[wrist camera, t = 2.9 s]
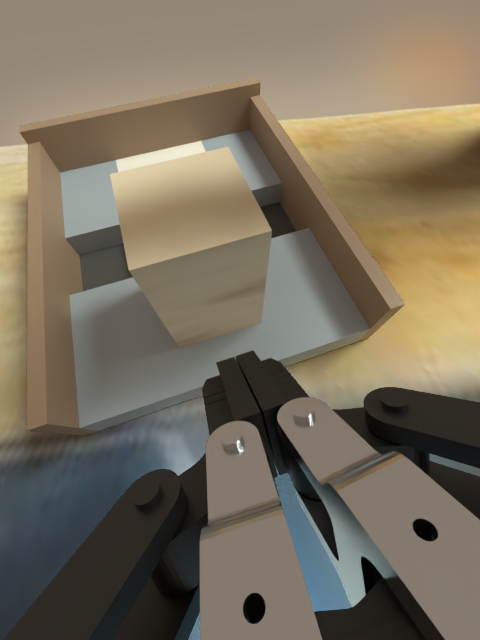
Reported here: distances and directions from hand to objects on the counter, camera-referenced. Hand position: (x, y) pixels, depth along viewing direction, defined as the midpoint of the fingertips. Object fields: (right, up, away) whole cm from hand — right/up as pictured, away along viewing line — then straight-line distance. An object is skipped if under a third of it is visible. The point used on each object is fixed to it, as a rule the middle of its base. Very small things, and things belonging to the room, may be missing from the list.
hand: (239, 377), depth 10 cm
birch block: (-2, +4, +10) cm, 11 cm away
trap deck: (-4, +9, +15) cm, 18 cm away
